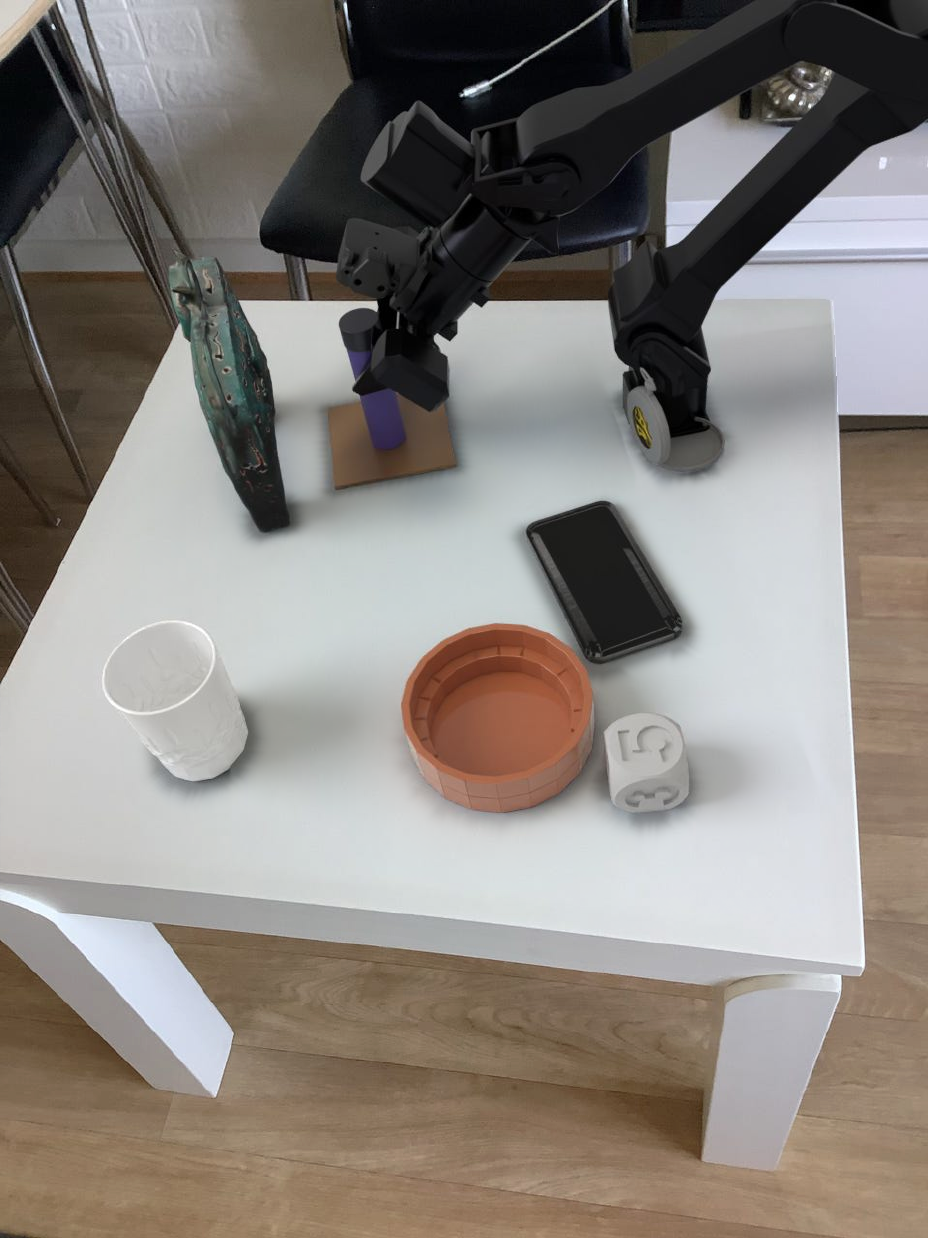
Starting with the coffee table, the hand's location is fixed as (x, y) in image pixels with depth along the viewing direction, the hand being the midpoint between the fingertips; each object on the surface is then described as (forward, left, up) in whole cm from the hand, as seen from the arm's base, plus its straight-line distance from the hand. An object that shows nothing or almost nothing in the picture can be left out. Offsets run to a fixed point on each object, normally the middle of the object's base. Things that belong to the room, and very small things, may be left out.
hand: (357, 378), depth 92 cm
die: (-16, +40, -8) cm, 43 cm away
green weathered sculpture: (+10, 0, -8) cm, 13 cm away
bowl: (-7, +34, -7) cm, 35 cm away
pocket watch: (-26, +8, -8) cm, 28 cm away
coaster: (-2, 0, -7) cm, 8 cm away
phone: (-17, +22, -7) cm, 28 cm away
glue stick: (-1, 0, -7) cm, 7 cm away
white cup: (+15, +30, -8) cm, 34 cm away
